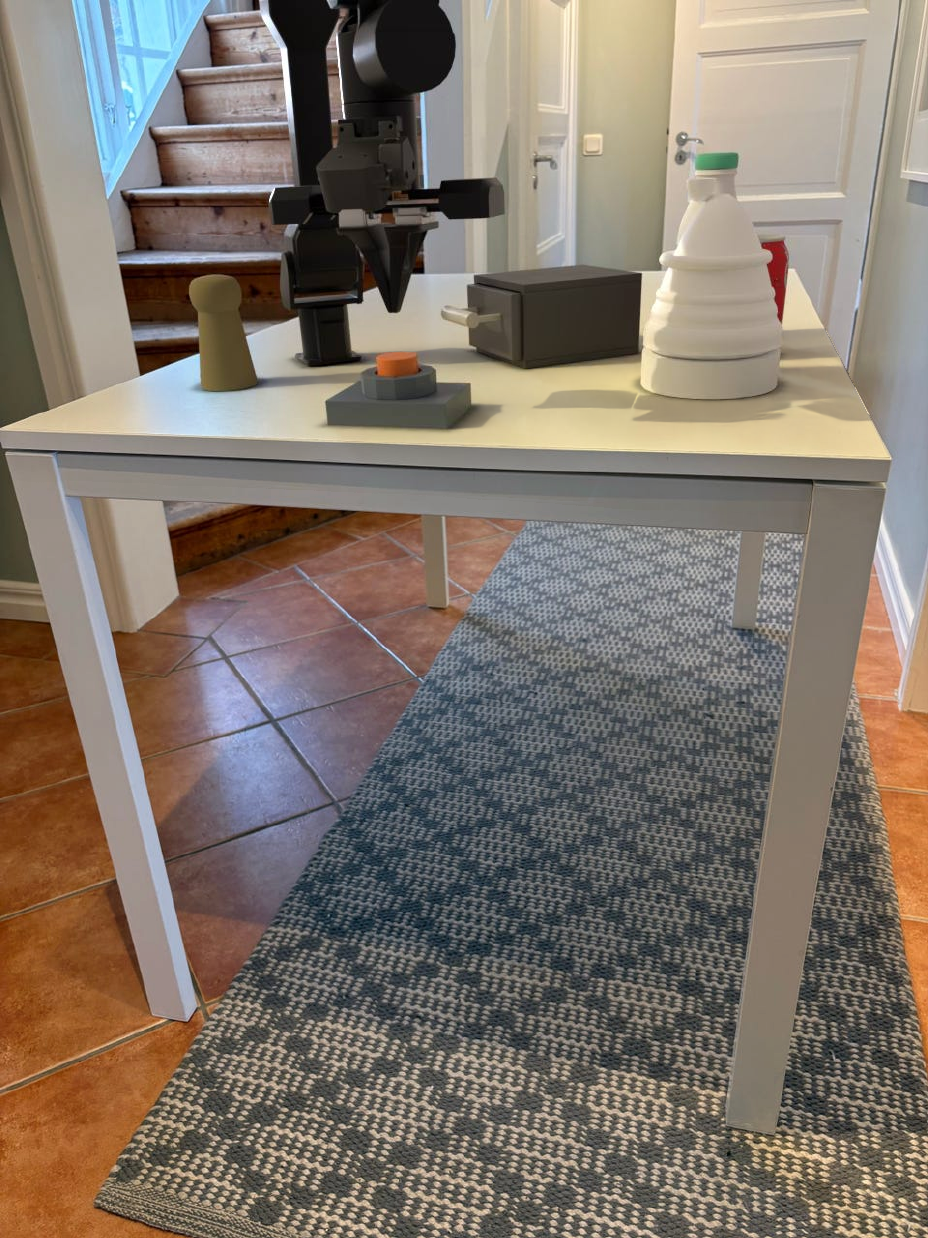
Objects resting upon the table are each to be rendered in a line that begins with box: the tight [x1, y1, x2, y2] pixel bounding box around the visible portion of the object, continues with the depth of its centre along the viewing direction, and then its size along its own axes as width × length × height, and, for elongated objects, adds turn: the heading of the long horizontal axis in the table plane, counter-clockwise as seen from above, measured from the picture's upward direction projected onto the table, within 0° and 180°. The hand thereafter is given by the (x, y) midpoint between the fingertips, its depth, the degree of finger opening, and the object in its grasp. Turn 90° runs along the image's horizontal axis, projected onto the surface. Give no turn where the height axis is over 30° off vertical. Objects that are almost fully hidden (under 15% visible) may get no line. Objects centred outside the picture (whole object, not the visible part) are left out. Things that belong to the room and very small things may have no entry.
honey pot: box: [639, 178, 784, 400], centre depth 83 cm, size 13×13×18 cm
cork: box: [188, 274, 259, 392], centre depth 94 cm, size 6×6×11 cm
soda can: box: [757, 234, 790, 326], centre depth 96 cm, size 7×7×12 cm
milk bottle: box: [675, 151, 739, 249], centre depth 103 cm, size 8×8×20 cm
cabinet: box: [473, 264, 643, 370], centre depth 103 cm, size 15×13×9 cm
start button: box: [375, 351, 419, 376], centre depth 79 cm, size 4×4×2 cm
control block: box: [324, 363, 472, 430], centre depth 80 cm, size 11×8×4 cm
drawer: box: [440, 283, 522, 361], centre depth 101 cm, size 18×11×7 cm, turn 114°
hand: (394, 312), depth 77 cm, fingers closed
